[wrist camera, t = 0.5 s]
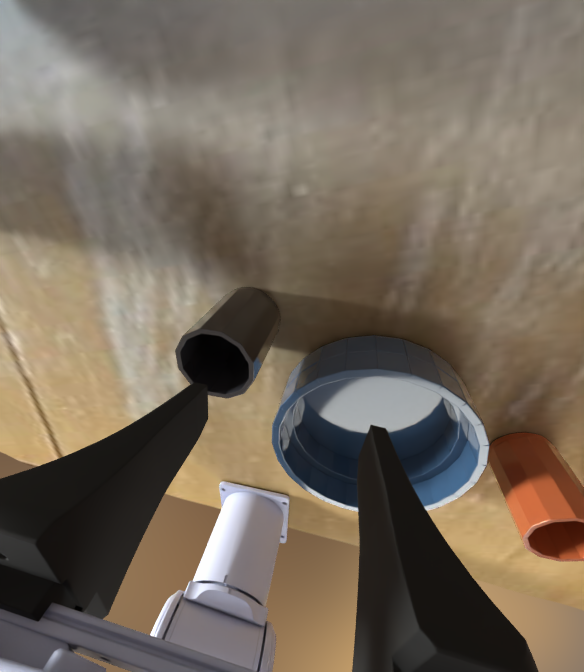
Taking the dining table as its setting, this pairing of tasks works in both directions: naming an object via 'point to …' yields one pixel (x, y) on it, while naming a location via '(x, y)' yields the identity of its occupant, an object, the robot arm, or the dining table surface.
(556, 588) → the dining table surface
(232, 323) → the charcoal cup
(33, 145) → the dining table surface
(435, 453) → the bowl
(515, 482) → the terracotta cup
